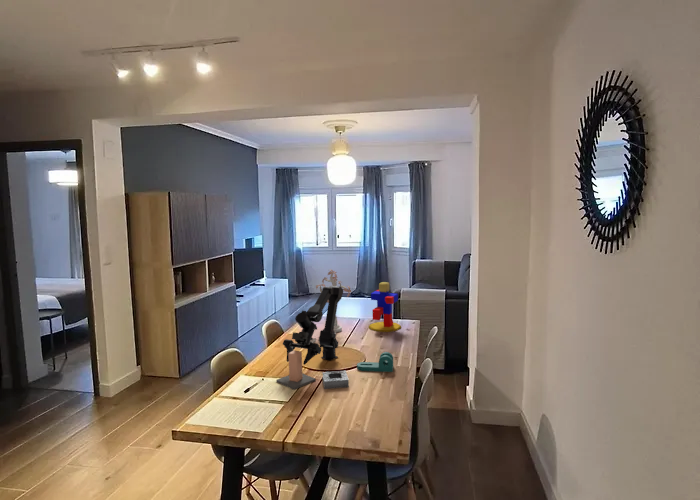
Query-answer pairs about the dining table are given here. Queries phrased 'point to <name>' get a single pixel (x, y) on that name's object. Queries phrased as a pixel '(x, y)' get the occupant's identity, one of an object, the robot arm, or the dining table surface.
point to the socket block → (335, 379)
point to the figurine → (384, 309)
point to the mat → (294, 384)
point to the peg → (295, 365)
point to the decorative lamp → (334, 283)
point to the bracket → (378, 364)
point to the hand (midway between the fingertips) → (295, 362)
